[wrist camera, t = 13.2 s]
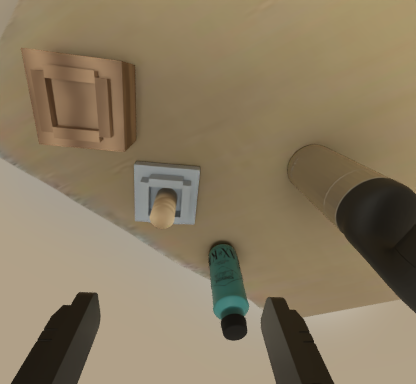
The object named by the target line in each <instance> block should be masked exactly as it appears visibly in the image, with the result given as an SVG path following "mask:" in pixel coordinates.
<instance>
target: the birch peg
mask: <svg viewBox="0 0 416 384" xmlns="http://www.w3.org/2000/svg"><path fill="white" fill-rule="evenodd" d="M176 204H177V193H176V192H175V191H174V190H173V189H172V188H161V189H160V190H159V191H158V192H157V195H156V198H155V201H154V204H153V207H152V210H151V214H150V222H151V223H152V224H153V225H154V226H155V227H157V228H160V229H165V228H168V227H170V226H171V225H172V224H173V223H174V219H175V211H176Z"/></svg>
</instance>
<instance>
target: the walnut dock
mask: <svg viewBox="0 0 416 384" xmlns="http://www.w3.org/2000/svg"><path fill="white" fill-rule="evenodd" d="M21 51H22V56H23V61H24V67H25V72H26V77H27V82H28V88H29V93H30V98H31V103H32V109H33V114H34V119H35V124H36V130H37V135H38V140H39V144H44V145H55V146H66V147H76V148H87V149H98V150H109V151H120V152H125V151H126V150H127V149H128V148H129V147H130V146H131V145H132V144H133V143H134V142H135V141H136V97H135V65H133V64H129V63H126V62H123V61H117V60H110V59H102V58H94V57H87V56H79V55H72V54H64V53H57V52H49V51H42V50H34V49H27V48H21Z"/></svg>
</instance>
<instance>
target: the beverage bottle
mask: <svg viewBox="0 0 416 384" xmlns="http://www.w3.org/2000/svg"><path fill="white" fill-rule="evenodd" d="M208 256H209V260H208V262H209V265H210V276H211V287H212V296H213V311H214V314H215V315H216V316H217V317H218V318H219V319H221V327H222V331H223V335H224V337H225V338H226V339H228V340H239V339H242V338H243V337H244V336H245V335H246V334H247V326H246V319H245V318H244V316H245V315H246V313H247V312H248V309H249V304H248V301H247V297H246V293H245V289H244V285H243V280H242V279H243V278H242V274H241V272H240V269H241V268H240V267H239V263H238V262H239V261H238V260H237V258H238V257H237V256H236V252H235V250H234V249H233V248H232V247H231V246H229V245H226V244H220V245H217V246H215V247H213V248H212V249H211V251H210V253H209V255H208Z"/></svg>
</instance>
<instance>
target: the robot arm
mask: <svg viewBox="0 0 416 384" xmlns="http://www.w3.org/2000/svg"><path fill="white" fill-rule="evenodd" d="M288 177H289V179H290V181H291V182H292V183H293V184H294V185H295V186H296V187H297V188H298V189H299V190H300V191H301V192H302V193H303V194H304V195H305V196H306V197H307V198H308V199H309V200H310V201H311V202H312V203H313V204H314V205H315V206H316V207H317V208H318V209H319V210H320V211H321V212H322V213H323V214H324V215H325V216H326V217H327V218H328V219H329V220H330V221H331V222H332V223H333V224H334V225H335V226H336V227H337V228H338V229H339V230H340V231H341V232H342V233H343V234H344V235H345V237H346V238H347V240H348V241H349V242H350V243H351V244H352V245H353V247H354V248H355V249H356V250H357V251H358V252H359V253H360V254H361V255H362V256H363V257H364V258H365V260H366V261H367V262H368V263H369V264H370V265H371V266H372V268H373V269H374V270H375V271H376V272H377V273H378V274H379V276H380V277H381V278H382V279H383V280H384V281H385V283H386V284H387V285H388V286H389V287H390V288H391V289H392V290H393V291H394V292H395V294H396V295H397V296H398V297H399V298H400V299H401V300H402V301H403V302H404V303H405V304H407V305H408V306H409V307H410V308H411V309H412V310H413V311H414V312H415V313H416V194H415V193H414V192H413V191H412V190H411V189H410V188H408V187H407V186H405V185H403V184H401V183H399V182H397V181H395V180H393V179H390V178H388V177H386V176H384V175H382V174H380V173H378V172H376V171H373V170H371V169H369V168H367V167H365V166H363V165H361V164H359V163H357V162H355V161H353V160H351V159H349V158H347V157H345V156H343V155H341V154H338V153H336V152H335V151H332V150H330V149H328V148H326V147H324V146H321V145H316V144H314V145H308V146H305V147H303V148H301V149H300V150H299V151H297V152H296V153H295V154H294V155H293V157H292V158H291V160H290V162H289V165H288ZM99 324H100V308H99V300H98V294H97V293H88V292H79V293H78V294H77V295H76V297H75V299H74V300H73V302H72V304H71V305H63V306H62V307H61V308H60V309H59V310H58V311H57V312H56V313H55V314H53V315H52V316H51V318H50V320H49V321H48V323H47V325H46V326H45V328H44V331H42V333H41V335H40V336H39V338H38V341H37V342H36V343H35V345H34V347H33V348H32V350H31V351H30V353H29V355H28V356H27V358H26V360H25V361H24V363H23V365H22V366H21V368H20V370H19V371H18V373H17V375H16V376H15V378H14V379H13V381H12V383H11V384H77V383H78V380H79V378H80V375H81V373H82V370H83V367H84V365H85V362H86V360H87V357H88V354H89V352H90V349H91V347H92V344H93V341H94V339H95V336H96V334H97V331H98V328H99ZM261 330H262V334H263V337H264V341H265V345H266V348H267V352H268V355H269V359H270V363H271V366H272V370H273V373H274V376H275V380H276V384H334V382H333V380H332V379H331V376H330V374H329V372H328V370H327V368H326V366H325V364H324V361H323V359H322V357H321V355H320V353H319V351H318V349H317V346H316V344H314V340H313V338H312V336H311V334H310V333H309V330H308V327H307V325H306V323H305V321H304V319H303V318H302V317H301V316H300V315H299V314H298V313H297V311H296V310H289V307H288V305H287V303H286V300H285V299H284V298H281V297H268V298H267V300H266V303H265V306H264V310H263V314H262V317H261Z"/></svg>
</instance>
